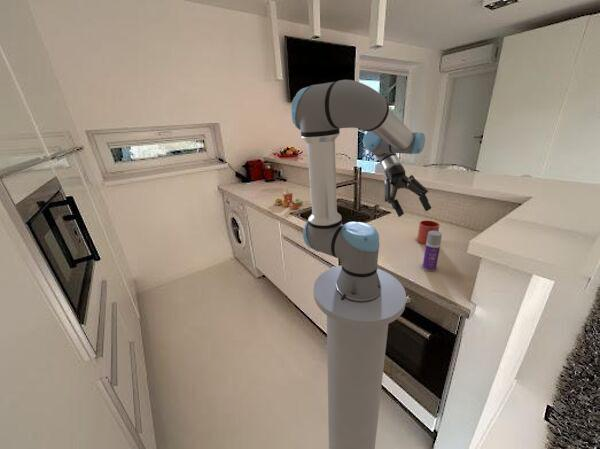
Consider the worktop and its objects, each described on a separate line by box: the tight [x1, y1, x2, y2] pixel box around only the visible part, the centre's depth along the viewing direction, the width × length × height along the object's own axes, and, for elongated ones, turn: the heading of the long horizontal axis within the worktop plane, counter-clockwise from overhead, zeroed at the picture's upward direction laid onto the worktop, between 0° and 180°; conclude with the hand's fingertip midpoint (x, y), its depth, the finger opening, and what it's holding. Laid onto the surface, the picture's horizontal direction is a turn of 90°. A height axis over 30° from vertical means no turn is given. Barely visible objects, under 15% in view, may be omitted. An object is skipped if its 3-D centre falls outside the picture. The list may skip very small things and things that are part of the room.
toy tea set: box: [273, 189, 303, 211], centre depth 179 cm, size 26×16×10 cm, turn 43°
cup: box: [416, 219, 441, 246], centre depth 115 cm, size 8×8×9 cm
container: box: [422, 231, 443, 272], centre depth 93 cm, size 5×5×15 cm
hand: (415, 212), depth 97 cm, fingers open, 13 cm apart
